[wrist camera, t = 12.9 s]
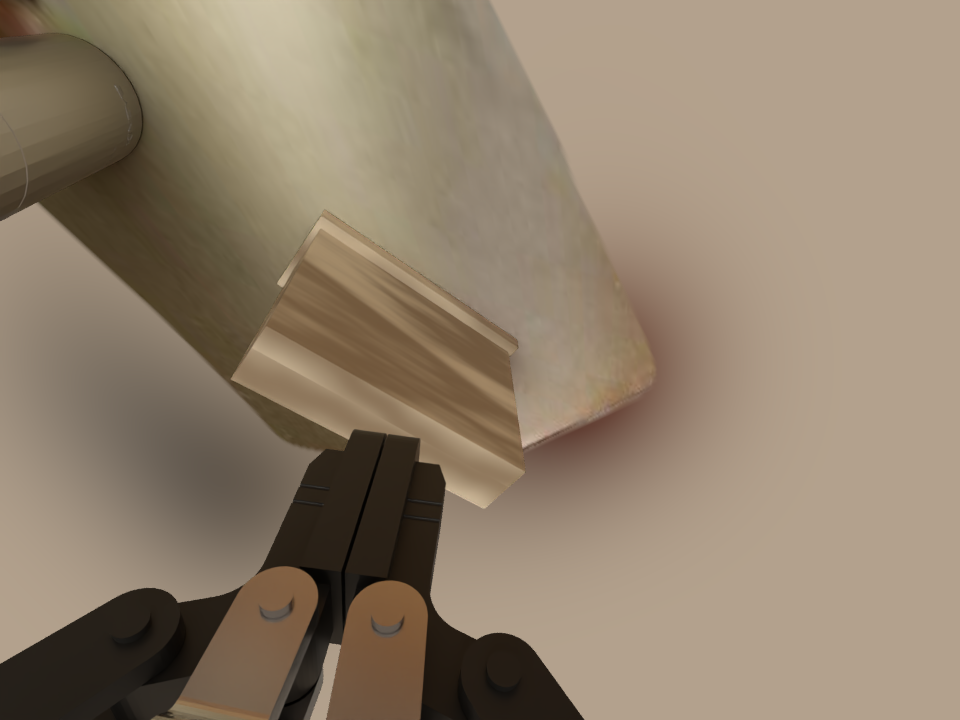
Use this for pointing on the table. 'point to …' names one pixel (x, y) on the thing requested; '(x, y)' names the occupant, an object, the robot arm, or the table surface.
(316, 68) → the table surface
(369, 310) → the birch console
